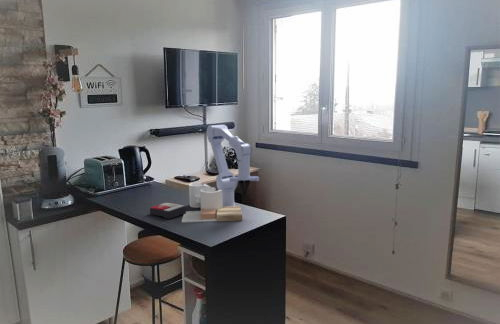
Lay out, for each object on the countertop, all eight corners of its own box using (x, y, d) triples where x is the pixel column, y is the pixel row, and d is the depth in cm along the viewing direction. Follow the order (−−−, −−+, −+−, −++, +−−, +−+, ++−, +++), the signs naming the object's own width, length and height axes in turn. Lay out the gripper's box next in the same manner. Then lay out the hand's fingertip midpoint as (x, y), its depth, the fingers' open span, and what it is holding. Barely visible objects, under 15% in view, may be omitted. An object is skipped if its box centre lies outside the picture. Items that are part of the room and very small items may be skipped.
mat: (184, 212, 203) (184, 211, 203) (217, 211, 204) (217, 210, 204) (181, 222, 187) (181, 221, 187) (216, 221, 188) (216, 220, 188)
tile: (201, 212, 200) (201, 208, 200) (215, 212, 201) (215, 207, 200) (200, 219, 190) (200, 214, 190) (215, 218, 191) (215, 213, 190)
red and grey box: (166, 201, 208) (185, 204, 199) (167, 209, 209) (186, 212, 200) (149, 207, 200) (168, 210, 191) (150, 215, 201) (169, 218, 191)
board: (217, 211, 204) (216, 206, 203) (240, 210, 205) (240, 205, 204) (216, 221, 188) (216, 216, 188) (242, 220, 189) (242, 215, 189)
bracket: (185, 205, 216) (184, 183, 214) (202, 202, 222) (201, 181, 219) (206, 217, 196) (205, 193, 194) (224, 213, 201) (223, 190, 199)
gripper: (229, 170, 191) (230, 197, 194) (259, 169, 192) (259, 196, 194) (229, 167, 198) (229, 194, 201) (258, 166, 199) (258, 193, 201)
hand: (244, 195), depth 198 cm, fingers closed
